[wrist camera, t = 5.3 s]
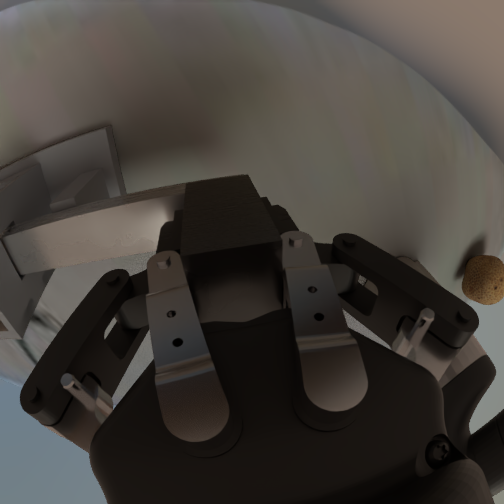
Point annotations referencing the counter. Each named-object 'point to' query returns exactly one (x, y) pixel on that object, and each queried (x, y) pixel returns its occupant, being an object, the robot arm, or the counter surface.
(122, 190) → the chute frame
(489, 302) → the natural sponge
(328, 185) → the counter surface
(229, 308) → the grey handle
